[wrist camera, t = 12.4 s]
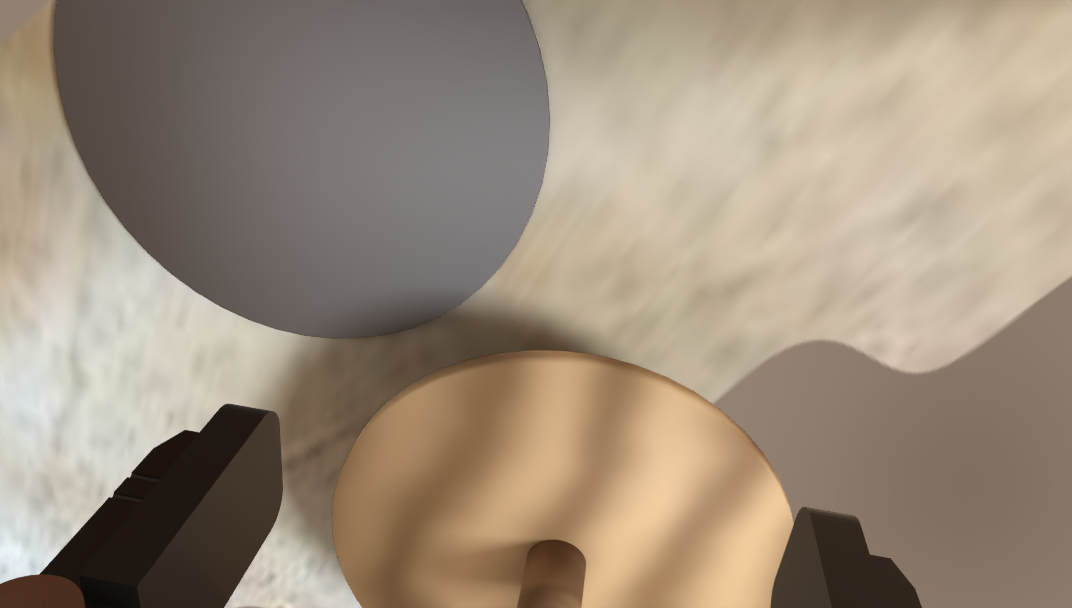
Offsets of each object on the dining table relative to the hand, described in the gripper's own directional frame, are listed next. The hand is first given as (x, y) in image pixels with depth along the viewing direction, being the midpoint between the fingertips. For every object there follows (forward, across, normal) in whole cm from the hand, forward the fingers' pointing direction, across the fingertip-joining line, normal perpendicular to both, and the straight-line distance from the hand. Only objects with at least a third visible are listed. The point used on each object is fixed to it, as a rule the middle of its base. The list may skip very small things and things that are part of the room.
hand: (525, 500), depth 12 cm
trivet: (+30, +16, +4) cm, 34 cm away
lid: (+24, -1, +24) cm, 34 cm away
